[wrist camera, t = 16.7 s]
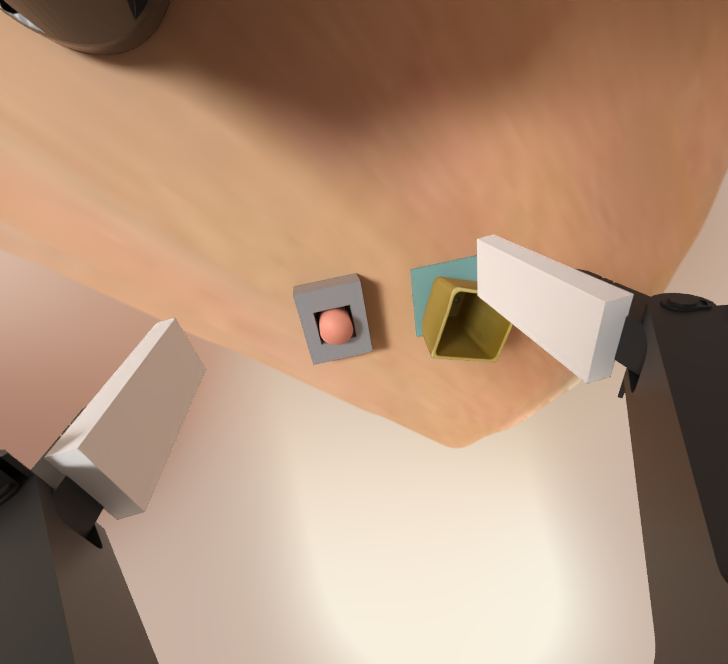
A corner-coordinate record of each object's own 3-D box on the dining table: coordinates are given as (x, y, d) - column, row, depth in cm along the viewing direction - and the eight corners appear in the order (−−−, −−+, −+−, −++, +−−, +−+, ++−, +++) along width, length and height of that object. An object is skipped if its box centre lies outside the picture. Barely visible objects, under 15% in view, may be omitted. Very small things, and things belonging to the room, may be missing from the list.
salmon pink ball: (315, 306, 40) (316, 319, 36) (345, 299, 40) (349, 312, 37) (322, 333, 42) (324, 348, 38) (351, 326, 42) (355, 341, 39)
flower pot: (463, 330, 46) (497, 363, 38) (408, 324, 44) (430, 359, 36) (484, 272, 42) (526, 296, 34) (424, 263, 40) (454, 286, 32)
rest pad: (410, 269, 40) (411, 270, 40) (483, 253, 41) (485, 254, 41) (416, 335, 45) (417, 336, 45) (481, 320, 46) (482, 321, 46)
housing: (293, 286, 39) (293, 295, 36) (356, 273, 39) (360, 280, 37) (312, 353, 44) (313, 365, 41) (368, 340, 44) (372, 351, 42)
